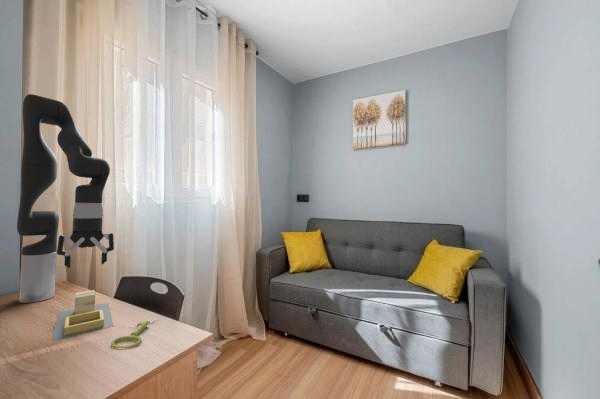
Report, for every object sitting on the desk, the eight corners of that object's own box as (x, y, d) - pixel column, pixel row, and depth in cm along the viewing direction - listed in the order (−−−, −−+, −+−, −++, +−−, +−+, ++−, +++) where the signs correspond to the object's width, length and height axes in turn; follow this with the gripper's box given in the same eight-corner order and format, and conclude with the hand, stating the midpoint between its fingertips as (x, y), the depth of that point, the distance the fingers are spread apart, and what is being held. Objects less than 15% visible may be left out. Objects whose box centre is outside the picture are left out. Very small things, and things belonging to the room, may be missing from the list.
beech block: (74, 311, 83) (75, 293, 83) (94, 307, 86) (94, 290, 87) (74, 316, 79) (75, 297, 80) (94, 312, 83) (95, 294, 83)
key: (149, 326, 77) (149, 319, 78) (139, 348, 66) (139, 340, 66) (121, 330, 75) (122, 322, 75) (106, 353, 63) (106, 345, 63)
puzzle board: (58, 315, 82) (58, 305, 83) (108, 305, 91) (108, 297, 91) (51, 344, 66) (52, 333, 66) (113, 329, 74) (113, 319, 74)
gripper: (113, 215, 91) (112, 260, 91) (59, 216, 82) (57, 266, 81) (115, 216, 85) (113, 264, 85) (57, 217, 76) (55, 271, 76)
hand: (86, 265), depth 83 cm, fingers open, 8 cm apart
